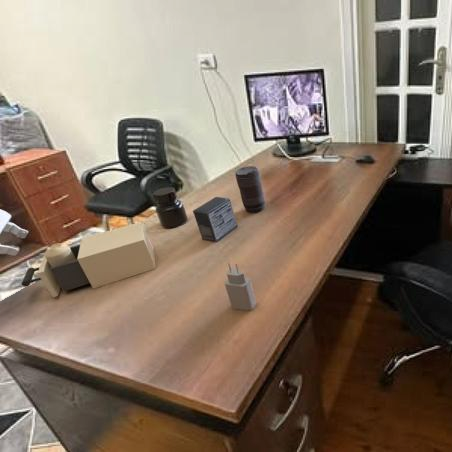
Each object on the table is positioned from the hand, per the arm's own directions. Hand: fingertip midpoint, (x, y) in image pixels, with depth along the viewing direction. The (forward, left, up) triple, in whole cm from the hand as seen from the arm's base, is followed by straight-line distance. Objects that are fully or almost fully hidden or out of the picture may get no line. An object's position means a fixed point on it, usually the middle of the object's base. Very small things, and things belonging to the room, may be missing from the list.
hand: (22, 243), depth 86 cm
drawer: (+6, 0, -14) cm, 15 cm away
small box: (+46, +3, -15) cm, 49 cm away
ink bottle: (+34, +21, -15) cm, 43 cm away
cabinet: (+18, 0, -15) cm, 23 cm away
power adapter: (+43, -36, -15) cm, 58 cm away
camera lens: (+61, +13, -15) cm, 64 cm away
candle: (+5, 0, -13) cm, 14 cm away
